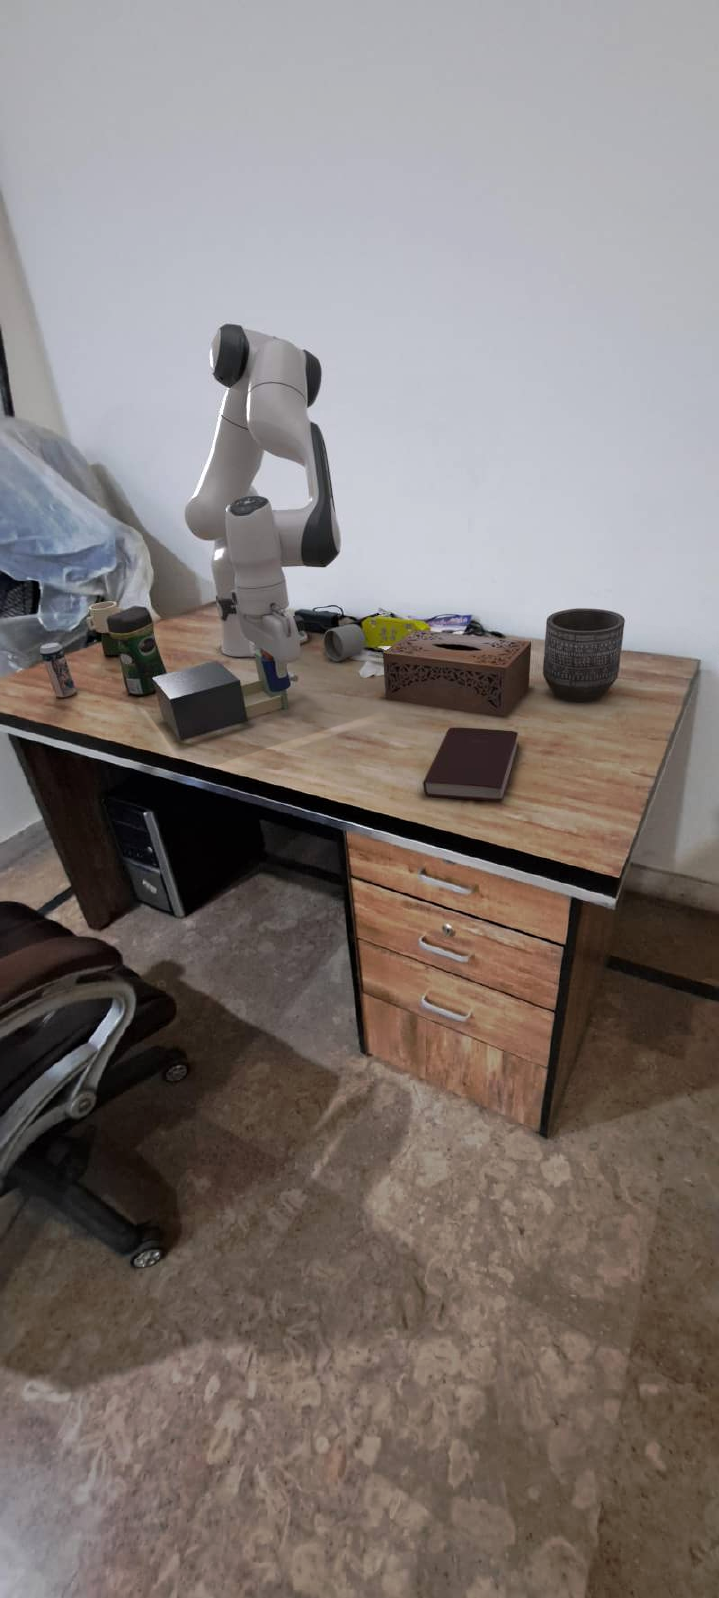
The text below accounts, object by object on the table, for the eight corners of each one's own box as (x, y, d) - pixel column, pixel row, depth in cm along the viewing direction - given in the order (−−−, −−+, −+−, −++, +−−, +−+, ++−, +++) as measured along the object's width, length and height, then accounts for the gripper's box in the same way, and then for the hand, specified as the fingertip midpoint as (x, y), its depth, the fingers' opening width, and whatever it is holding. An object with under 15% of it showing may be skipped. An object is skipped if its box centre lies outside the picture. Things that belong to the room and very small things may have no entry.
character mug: (126, 644, 185) (112, 597, 178) (141, 648, 181) (128, 600, 174) (91, 658, 179) (76, 609, 172) (106, 662, 175) (91, 613, 168)
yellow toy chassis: (363, 650, 166) (360, 617, 161) (375, 642, 170) (372, 609, 165) (420, 658, 158) (419, 623, 154) (431, 650, 162) (430, 616, 158)
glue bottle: (285, 679, 130) (275, 643, 126) (294, 685, 127) (284, 649, 123) (266, 687, 129) (255, 651, 125) (274, 694, 126) (264, 658, 122)
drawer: (282, 686, 150) (275, 646, 145) (308, 707, 139) (302, 663, 134) (205, 708, 143) (195, 666, 138) (226, 731, 133) (217, 687, 128)
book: (422, 796, 108) (422, 779, 106) (448, 740, 123) (448, 724, 121) (501, 805, 104) (502, 787, 102) (518, 745, 119) (519, 729, 117)
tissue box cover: (528, 688, 139) (531, 641, 134) (504, 717, 129) (506, 667, 123) (416, 672, 151) (414, 629, 146) (385, 698, 141) (382, 652, 135)
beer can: (69, 698, 156) (52, 648, 149) (51, 698, 157) (34, 649, 150) (81, 690, 160) (64, 641, 153) (63, 690, 161) (46, 641, 154)
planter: (528, 697, 135) (532, 624, 127) (563, 673, 144) (569, 603, 136) (594, 713, 127) (603, 637, 119) (628, 687, 135) (638, 614, 127)
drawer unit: (226, 704, 145) (217, 660, 140) (249, 727, 135) (240, 680, 129) (164, 722, 140) (151, 677, 135) (182, 747, 130) (170, 699, 124)
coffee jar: (151, 678, 162) (130, 601, 152) (175, 683, 158) (155, 604, 148) (120, 694, 155) (97, 615, 145) (145, 699, 152) (122, 618, 142)
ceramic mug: (369, 654, 163) (367, 622, 159) (344, 664, 159) (341, 632, 155) (341, 646, 170) (337, 616, 166) (316, 656, 166) (312, 625, 162)
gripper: (304, 606, 112) (314, 684, 120) (258, 583, 128) (270, 653, 135) (269, 615, 110) (282, 693, 117) (227, 590, 125) (240, 661, 133)
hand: (275, 671), depth 126 cm, fingers closed on glue bottle, 4 cm apart
